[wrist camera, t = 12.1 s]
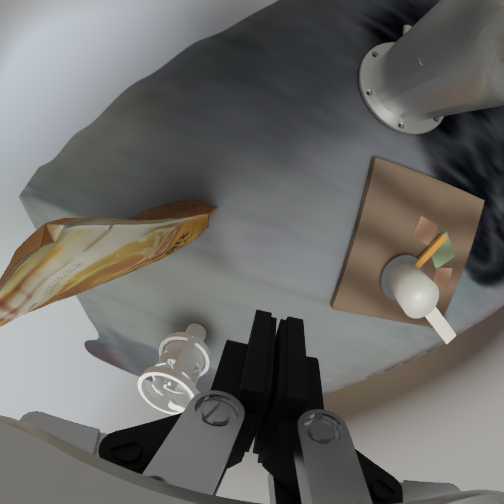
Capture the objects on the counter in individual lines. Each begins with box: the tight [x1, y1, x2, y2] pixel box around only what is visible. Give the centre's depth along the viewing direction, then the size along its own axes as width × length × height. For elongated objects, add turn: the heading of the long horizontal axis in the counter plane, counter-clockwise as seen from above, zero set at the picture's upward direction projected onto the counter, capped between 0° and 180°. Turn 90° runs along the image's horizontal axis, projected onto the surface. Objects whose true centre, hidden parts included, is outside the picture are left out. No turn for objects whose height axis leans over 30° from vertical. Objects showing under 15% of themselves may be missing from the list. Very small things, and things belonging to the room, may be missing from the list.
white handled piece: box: [380, 233, 456, 344], centre depth 32 cm, size 16×11×7 cm
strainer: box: [138, 323, 211, 415], centre depth 36 cm, size 7×7×15 cm
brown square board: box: [331, 157, 484, 327], centre depth 35 cm, size 20×18×2 cm
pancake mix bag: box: [0, 200, 217, 326], centre depth 25 cm, size 7×19×28 cm, turn 114°
